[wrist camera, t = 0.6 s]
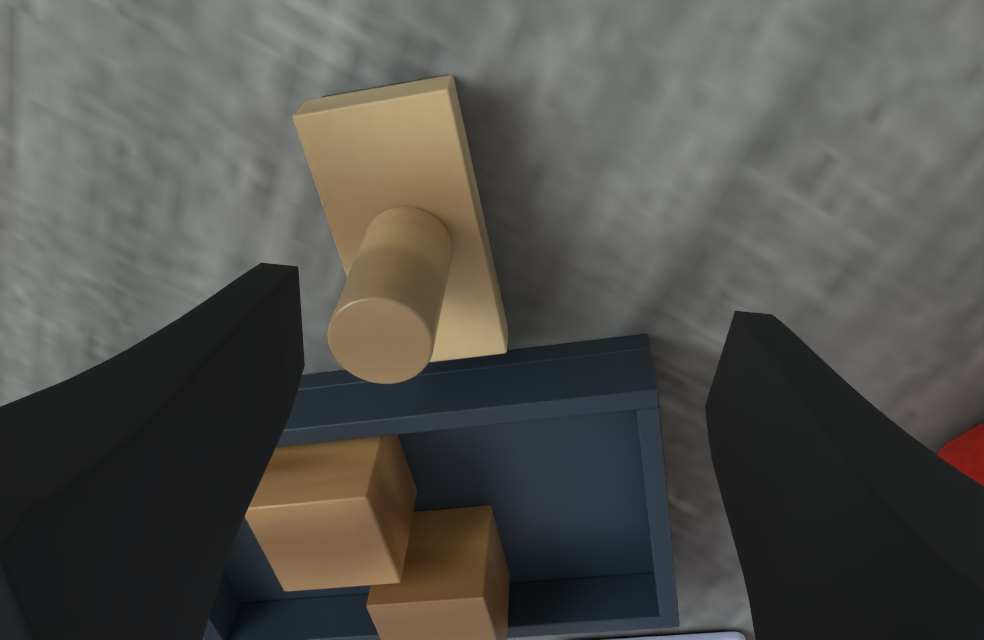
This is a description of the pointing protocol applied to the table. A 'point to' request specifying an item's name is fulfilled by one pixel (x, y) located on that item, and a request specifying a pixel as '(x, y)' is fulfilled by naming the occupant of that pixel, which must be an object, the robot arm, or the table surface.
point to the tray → (499, 488)
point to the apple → (967, 453)
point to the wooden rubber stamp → (403, 229)
